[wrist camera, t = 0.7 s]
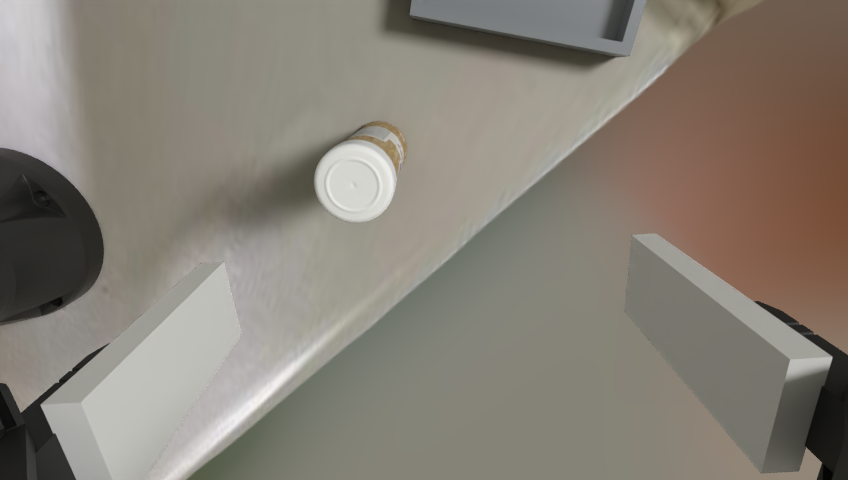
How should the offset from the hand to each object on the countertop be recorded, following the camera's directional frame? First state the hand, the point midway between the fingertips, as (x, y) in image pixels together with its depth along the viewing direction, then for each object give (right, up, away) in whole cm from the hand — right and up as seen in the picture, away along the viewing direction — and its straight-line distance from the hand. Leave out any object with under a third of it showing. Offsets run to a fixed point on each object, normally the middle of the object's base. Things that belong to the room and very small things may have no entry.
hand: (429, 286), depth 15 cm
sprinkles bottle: (-4, +9, +23) cm, 25 cm away
